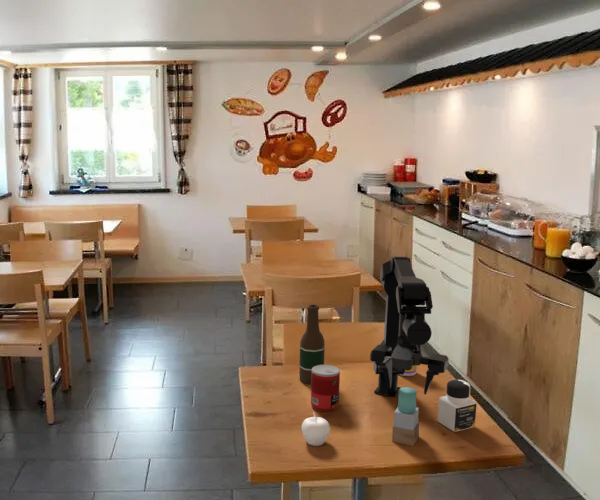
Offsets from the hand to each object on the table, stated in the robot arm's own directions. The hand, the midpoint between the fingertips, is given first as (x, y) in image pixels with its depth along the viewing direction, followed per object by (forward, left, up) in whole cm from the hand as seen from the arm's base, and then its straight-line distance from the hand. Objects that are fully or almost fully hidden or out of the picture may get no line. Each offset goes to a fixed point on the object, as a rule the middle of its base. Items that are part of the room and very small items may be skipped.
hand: (407, 390), depth 164 cm
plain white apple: (+13, -20, -13) cm, 27 cm away
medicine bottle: (-13, +10, -13) cm, 21 cm away
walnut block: (+1, 0, -13) cm, 13 cm away
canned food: (-8, -26, -13) cm, 30 cm away
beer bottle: (-24, -37, -13) cm, 46 cm away
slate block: (+1, 0, -9) cm, 9 cm away
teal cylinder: (+1, 0, -5) cm, 5 cm away
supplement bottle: (-43, -12, -13) cm, 47 cm away
